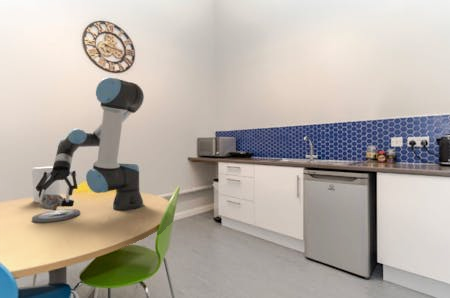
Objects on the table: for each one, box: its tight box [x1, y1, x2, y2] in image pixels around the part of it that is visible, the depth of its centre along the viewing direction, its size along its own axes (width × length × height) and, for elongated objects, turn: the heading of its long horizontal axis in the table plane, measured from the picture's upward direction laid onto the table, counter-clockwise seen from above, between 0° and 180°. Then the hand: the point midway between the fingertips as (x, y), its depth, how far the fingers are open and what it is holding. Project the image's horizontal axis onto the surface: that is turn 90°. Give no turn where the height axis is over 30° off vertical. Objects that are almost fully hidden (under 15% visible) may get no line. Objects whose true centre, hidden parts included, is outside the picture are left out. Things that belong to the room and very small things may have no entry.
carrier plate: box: [31, 208, 81, 224], centre depth 122 cm, size 19×19×1 cm
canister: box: [31, 165, 61, 203], centre depth 159 cm, size 14×14×20 cm
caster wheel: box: [40, 194, 75, 211], centre depth 124 cm, size 7×11×10 cm
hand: (54, 201), depth 119 cm, fingers closed on caster wheel, 10 cm apart
